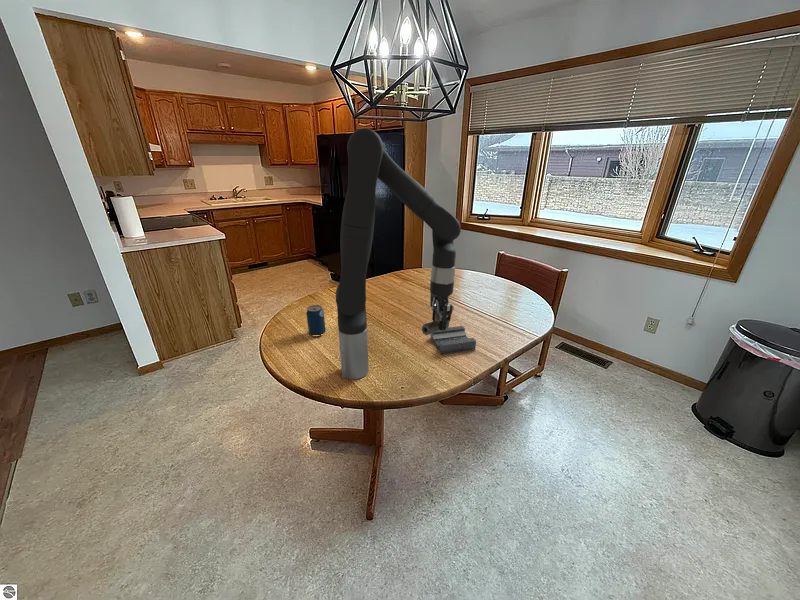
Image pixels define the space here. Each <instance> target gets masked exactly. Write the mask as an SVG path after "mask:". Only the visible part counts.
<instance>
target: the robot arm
mask: <svg viewBox="0 0 800 600" xmlns="http://www.w3.org/2000/svg"><path fill="white" fill-rule="evenodd" d="M346 150H347V160H348V161H347V166H348V170H347V171H348V173H347V174H348V177H347V178H348V179H347V182H348V183H347V190H346V193H345V194H346V195H345V199H344V203H343V209H342V214H341V215H342V216H341V225H340V241H339V242H340V244H339V245H340V246H339V247H340V248H339V249H340V264H341V265H340V267H341V268H340V269H341V270H340V278H339V283H338V284H337V287H336V289H335V303H336V308H337V309H336V310H337V327H338V339H339V354H340V355H339V356H340V357H339V358H340V368H341V375H342V379H348V380H359V379H363V378H364V377H366V376H367V375H368V373H369V369H370V368H369V347H368V346H369V345H368V343H369V342H368V325H367V324H368V322H367V321H368V320H367V307H366V306H367V305H366V304H367V293H366V292H367V271H368V266H369V261H370V256H371V251H372V245H373V240H374V239H373V238H374V232H375V231H374V230H375V221H376V220H375V219H376V189H377V183H378V179H379V180H380V182H382V183H383V184H384V185H385V186H386V187H387V188H388V189H390V190H391V192H392V193H393V194H394V196H396V197H397V198H398V199H399V200H400V202H402V203H403V204H404V205H405V207H407V209H408V210H410V211H411V212H412V213H413V214H414V215H415V216H417V218H419V220H422V221H423V222H424V223H425V224H426V225H428V227H429V228H430V229H431V232H432V233H431V235H432V246H433V247H432V248H433V249H432V250H433V253H432V264H431V270H430V281H429V282H430V283H429V292H430V302H429V304H430V305H429V306H430V307H431V311H432V315H431V316H432V317H431V320H432V322H433V321H435V306H436V307H437V310H438V313H439V316H440V322H439V329H440V330H446V323H447V321H450V322H451V319H452V314H453V312H452V305H453V304H451V305H449V304H450V301H449V297H451V296H452V294H453V293H454V286H455V277H456V269H455V268H456V252H457V251H456V248H455V246H454V240H456V239H457V238H459V236H460V234H461V231H462V228H461V227H462V226H461V223H460V222H459V220H458V219H457V218H456V217H455V215H453V214H451V212H450V211H448V210H447V209H446V208H445V207H444V206H443V205H441V204H440V203H439V202H438V200H437V199H436V198H435V197H434V196H433V195H432V194H431V193H430V192H429V191H428V190H427V189H426V188H425V187H423V185H422V184H420V183H419V182H418V181H417V180H415V179H414V178H413V176H411V175H409V174H408V173H407V172H406V171H405V170H404V169H403V168H401V166H399V165H398V164H397V163H396V162H395V161H394V160H393V158H392V157H391V156H390V155H389V154H388V152H387V151H386V150H385V149H384V143H383V140H382V138H381V137H380V135H379V134H378V133H377V132H376V131H375V130H373V129H371V128H368V127H362V128H359V129H356V130H355V131H354V132H352V133H351V134H350V136H349V138H348V141H347V145H346ZM441 309H443V311H441ZM442 313H443V315H442ZM451 313H452V314H451Z"/></svg>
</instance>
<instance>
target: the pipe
mask: <svg viewBox="0 0 800 600" xmlns="http://www.w3.org/2000/svg"><path fill="white" fill-rule="evenodd" d="M449 305H452V313H451V315H452V314H453V311H454V310H455V306H454V305H453V304H452V303H451V304H450V303H449ZM441 311H443V309H441ZM442 315H443V313H442ZM439 322H440V316H439V313H438V310H437V307H436V306H435V321H433V320H432V321H430V322H427V323H423V325H422V327H421V331H422V334H423V335H425V336H428V335H431V333H434V332H436V331H439V330H440V329H439ZM450 322H451V320H450V321H447V323H446V329H447V328H449V327H450ZM440 331H444V330H440Z"/></svg>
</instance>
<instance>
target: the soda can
mask: <svg viewBox="0 0 800 600" xmlns="http://www.w3.org/2000/svg"><path fill="white" fill-rule="evenodd" d="M324 311H325V310H324V309H323V307H322V305H319V304H318V305H317V304H315V305H311V306H308V307H307V310H306V321H307V329H308V330H307V331H308V334H309V335H310V334H311V335H321V334H323V333H324V334H325V333H326V331H327V330H326V320H325V312H324ZM311 335H310V336H311Z"/></svg>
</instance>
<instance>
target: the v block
mask: <svg viewBox="0 0 800 600" xmlns="http://www.w3.org/2000/svg"><path fill="white" fill-rule="evenodd" d="M430 340H431V341H432V342H433V344H434V346H435V347H436V349H437V350H438V351H439V353H440V355H446V354H447V355H449V354H454V353H462V352H469V351H475V350H476V345H477V340H476V339H475V338H474V337H468V336H467V333H466V328H465V326H463V325H459V326H458V325H457V326H449V327H448V328H447V329H446V330H444V331H440V330H439V331H436V332H434V333H431V334H430Z"/></svg>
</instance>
